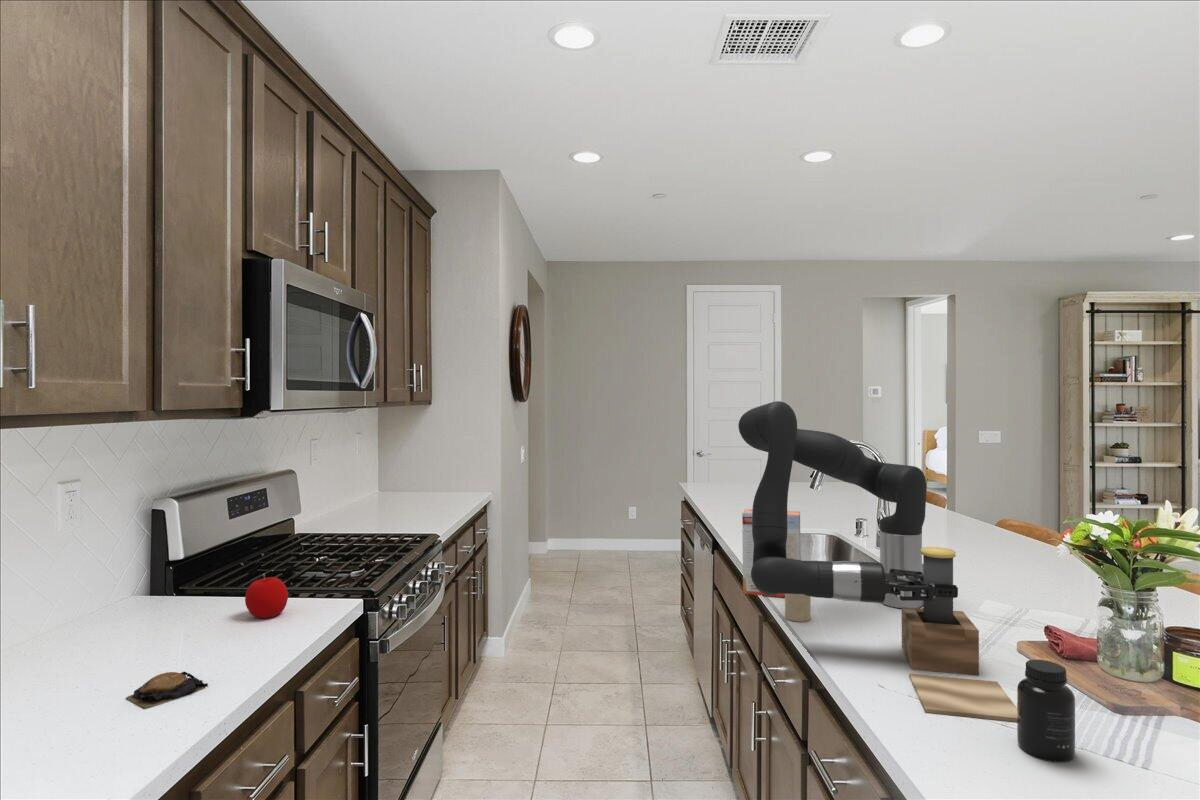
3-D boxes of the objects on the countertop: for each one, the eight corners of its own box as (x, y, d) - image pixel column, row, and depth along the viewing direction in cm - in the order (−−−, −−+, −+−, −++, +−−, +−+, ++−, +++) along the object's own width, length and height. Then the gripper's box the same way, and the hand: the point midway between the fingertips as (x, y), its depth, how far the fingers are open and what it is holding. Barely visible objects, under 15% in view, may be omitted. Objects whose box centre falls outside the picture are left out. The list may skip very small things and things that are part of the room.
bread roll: (144, 714, 109) (144, 691, 109) (122, 701, 114) (122, 679, 114) (213, 690, 118) (213, 669, 118) (190, 678, 123) (190, 658, 123)
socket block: (901, 647, 134) (901, 607, 134) (962, 652, 132) (962, 611, 132) (911, 669, 124) (911, 625, 124) (978, 675, 121) (978, 630, 121)
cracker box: (801, 593, 172) (801, 510, 172) (800, 599, 166) (799, 514, 166) (745, 588, 177) (744, 507, 176) (742, 594, 171) (741, 511, 171)
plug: (937, 622, 131) (937, 545, 131) (962, 631, 126) (962, 552, 126) (914, 625, 129) (914, 548, 129) (938, 635, 124) (938, 554, 124)
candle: (811, 623, 149) (811, 577, 149) (785, 621, 150) (785, 576, 150) (809, 615, 155) (809, 571, 155) (784, 613, 156) (784, 570, 156)
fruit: (238, 616, 156) (238, 572, 156) (279, 607, 163) (278, 565, 163) (254, 625, 150) (253, 580, 150) (295, 615, 157) (295, 572, 156)
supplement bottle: (1006, 739, 99) (1005, 656, 98) (1050, 737, 99) (1050, 655, 99) (1040, 765, 92) (1040, 676, 92) (1087, 762, 92) (1087, 674, 92)
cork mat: (908, 676, 120) (908, 673, 120) (997, 685, 117) (997, 681, 117) (925, 712, 107) (925, 708, 107) (1025, 722, 103) (1025, 719, 103)
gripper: (861, 571, 124) (963, 577, 120) (853, 553, 138) (944, 558, 134) (861, 612, 124) (963, 619, 120) (853, 590, 138) (944, 596, 134)
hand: (953, 587), depth 127 cm, fingers closed on plug, 5 cm apart
